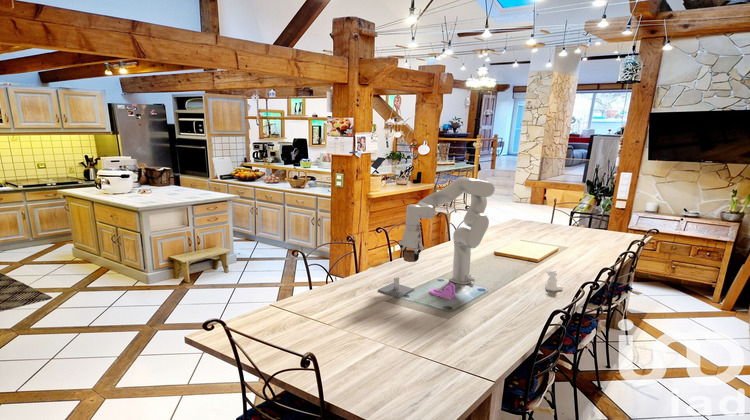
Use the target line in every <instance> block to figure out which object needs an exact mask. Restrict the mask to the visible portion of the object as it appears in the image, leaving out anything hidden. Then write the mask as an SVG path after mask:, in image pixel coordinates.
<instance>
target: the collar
mask: <svg viewBox="0 0 750 420" xmlns="http://www.w3.org/2000/svg"><path fill="white" fill-rule="evenodd" d="M414 254H416V253H415V250H414V249H408V248H407V249H406V250H404V258H403V261H404V262H408V263H415V262H417V261H414Z"/></svg>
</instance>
